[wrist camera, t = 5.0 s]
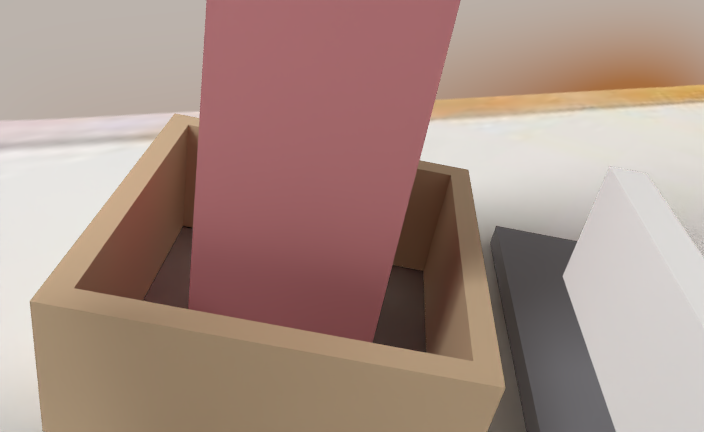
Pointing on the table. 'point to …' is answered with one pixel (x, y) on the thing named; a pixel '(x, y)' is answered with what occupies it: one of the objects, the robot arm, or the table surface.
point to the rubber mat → (546, 335)
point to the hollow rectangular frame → (256, 327)
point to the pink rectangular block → (310, 155)
